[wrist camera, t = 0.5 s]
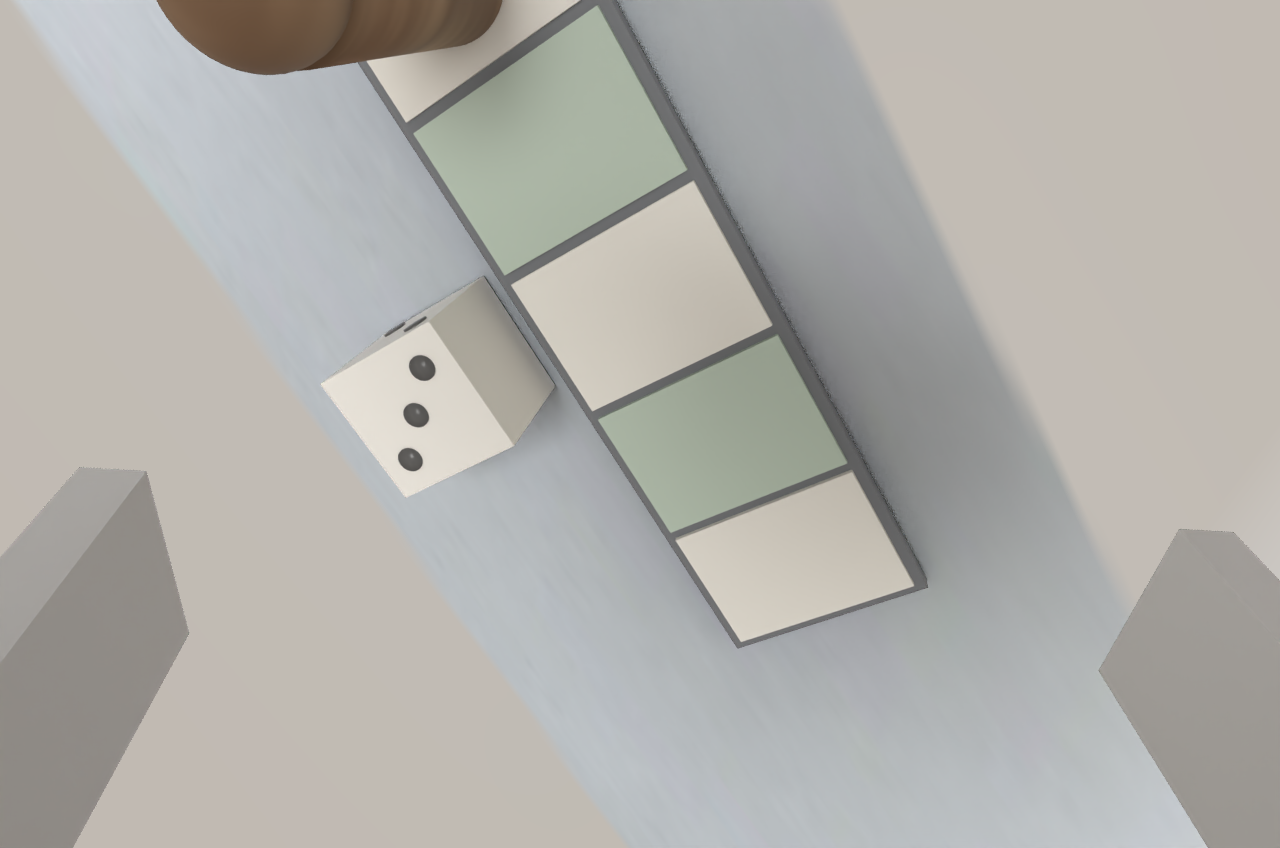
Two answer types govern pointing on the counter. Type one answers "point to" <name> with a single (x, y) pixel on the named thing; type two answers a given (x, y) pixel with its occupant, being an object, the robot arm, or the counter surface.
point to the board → (652, 310)
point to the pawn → (324, 29)
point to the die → (442, 389)
